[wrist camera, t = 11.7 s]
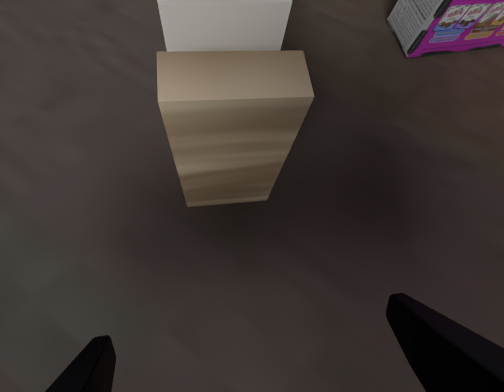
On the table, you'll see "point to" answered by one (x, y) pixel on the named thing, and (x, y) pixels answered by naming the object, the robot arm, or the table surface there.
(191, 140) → the domino
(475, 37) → the candy bar box
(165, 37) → the domino
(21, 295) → the table surface
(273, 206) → the table surface
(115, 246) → the table surface
